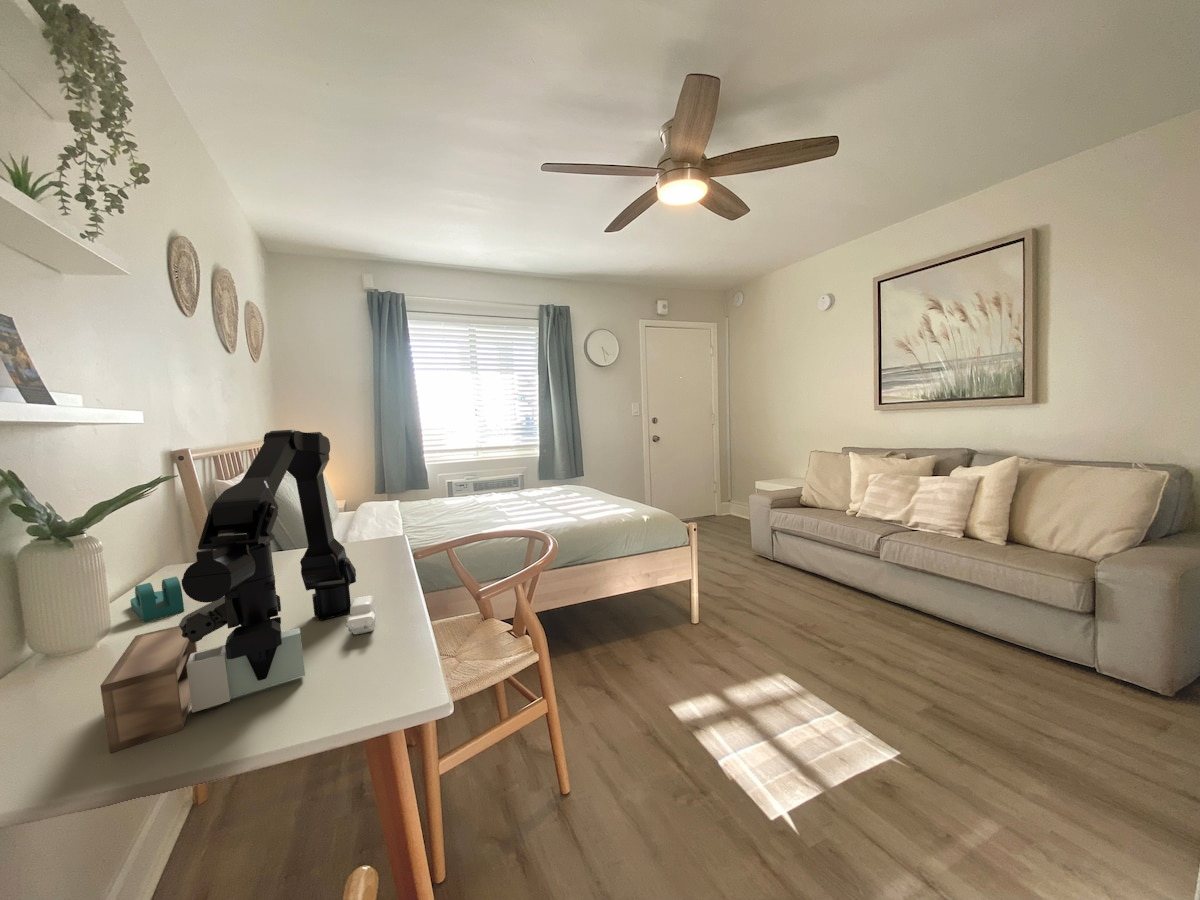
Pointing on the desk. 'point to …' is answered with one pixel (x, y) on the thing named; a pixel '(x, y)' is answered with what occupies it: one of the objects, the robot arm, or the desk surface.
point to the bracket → (158, 600)
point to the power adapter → (361, 615)
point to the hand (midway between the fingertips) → (262, 675)
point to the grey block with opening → (239, 672)
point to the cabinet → (148, 689)
